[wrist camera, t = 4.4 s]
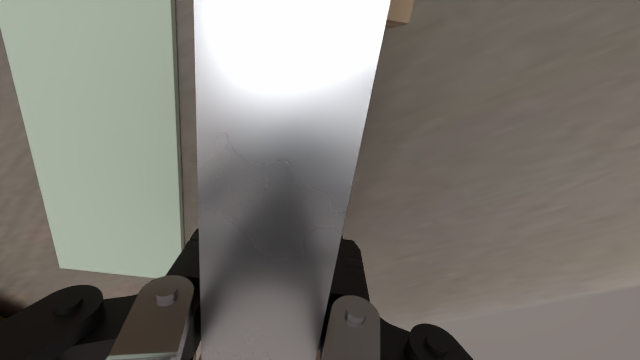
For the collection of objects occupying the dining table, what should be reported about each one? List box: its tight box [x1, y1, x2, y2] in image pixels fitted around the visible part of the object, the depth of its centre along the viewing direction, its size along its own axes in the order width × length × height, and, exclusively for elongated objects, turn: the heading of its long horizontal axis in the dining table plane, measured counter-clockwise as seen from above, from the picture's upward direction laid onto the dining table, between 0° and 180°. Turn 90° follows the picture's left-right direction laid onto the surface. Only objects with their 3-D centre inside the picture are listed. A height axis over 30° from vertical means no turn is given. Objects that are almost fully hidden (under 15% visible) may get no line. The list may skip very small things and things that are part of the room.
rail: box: [194, 0, 390, 360], centre depth 9 cm, size 3×26×3 cm, turn 172°
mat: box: [0, 0, 184, 278], centre depth 21 cm, size 10×26×1 cm, turn 172°
